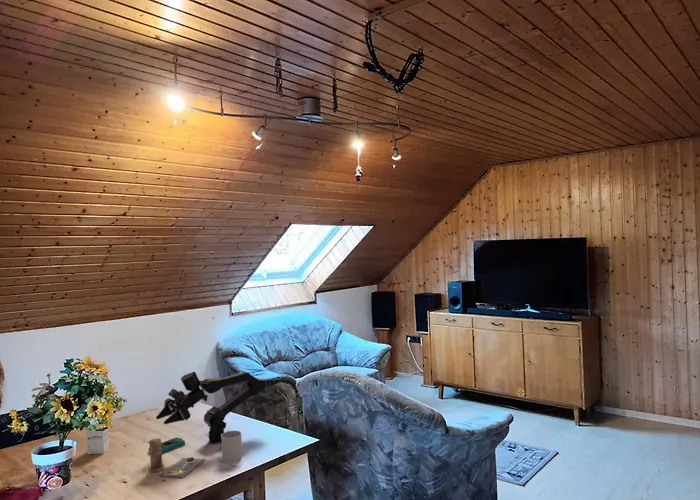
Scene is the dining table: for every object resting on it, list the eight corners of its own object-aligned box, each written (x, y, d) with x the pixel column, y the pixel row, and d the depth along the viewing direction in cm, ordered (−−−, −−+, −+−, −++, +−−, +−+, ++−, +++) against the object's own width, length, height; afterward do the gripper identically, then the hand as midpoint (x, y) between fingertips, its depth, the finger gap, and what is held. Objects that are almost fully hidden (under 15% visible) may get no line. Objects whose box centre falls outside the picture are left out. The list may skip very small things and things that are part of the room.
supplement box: (86, 455, 236) (85, 427, 236) (92, 449, 243) (90, 421, 243) (104, 453, 237) (102, 425, 237) (109, 447, 244) (107, 420, 244)
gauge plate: (183, 459, 226) (182, 455, 226) (204, 460, 224) (204, 456, 224) (160, 476, 209) (159, 472, 209) (182, 478, 207) (182, 474, 207)
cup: (224, 463, 220) (223, 439, 219) (220, 456, 227) (218, 433, 227) (244, 458, 223) (243, 435, 223) (239, 452, 231) (238, 429, 231)
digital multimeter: (186, 445, 243) (186, 439, 243) (157, 456, 231) (156, 450, 231) (177, 442, 248) (177, 436, 248) (148, 453, 236) (147, 446, 236)
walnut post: (164, 465, 220) (162, 437, 220) (163, 471, 215) (162, 441, 215) (149, 468, 218) (148, 439, 218) (148, 473, 213) (147, 443, 213)
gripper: (175, 380, 243) (144, 401, 234) (191, 387, 229) (159, 410, 220) (185, 400, 246) (155, 421, 237) (202, 408, 232) (171, 431, 223)
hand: (160, 420), depth 229 cm, fingers open, 9 cm apart
